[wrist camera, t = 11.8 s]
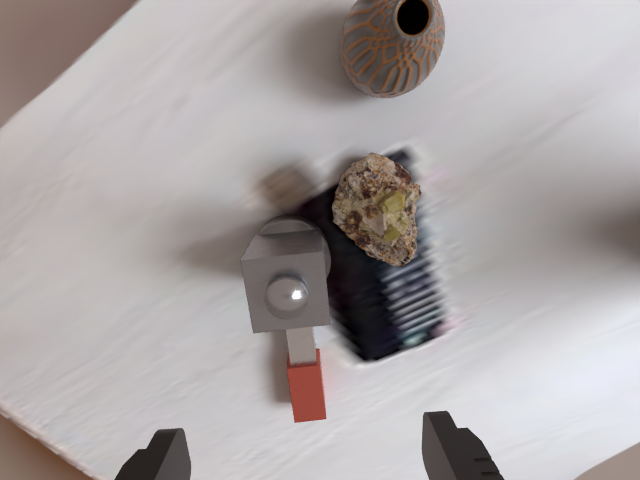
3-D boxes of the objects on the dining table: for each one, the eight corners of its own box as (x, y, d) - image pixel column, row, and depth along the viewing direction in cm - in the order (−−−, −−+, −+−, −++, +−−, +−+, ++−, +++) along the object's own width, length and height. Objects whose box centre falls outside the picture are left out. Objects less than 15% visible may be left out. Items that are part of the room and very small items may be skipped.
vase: (364, 119, 28) (390, 108, 19) (319, 42, 26) (327, -8, 17) (435, 71, 27) (495, 38, 18) (395, -12, 25) (440, -92, 17)
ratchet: (324, 211, 30) (329, 227, 24) (342, 397, 35) (349, 448, 29) (247, 218, 29) (233, 237, 24) (277, 405, 35) (272, 457, 29)
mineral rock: (308, 183, 27) (403, 142, 24) (319, 171, 31) (401, 134, 28) (360, 289, 30) (448, 262, 27) (363, 266, 34) (440, 241, 31)
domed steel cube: (319, 228, 27) (324, 256, 20) (325, 288, 28) (331, 332, 22) (254, 235, 27) (237, 265, 20) (263, 295, 28) (250, 341, 22)
